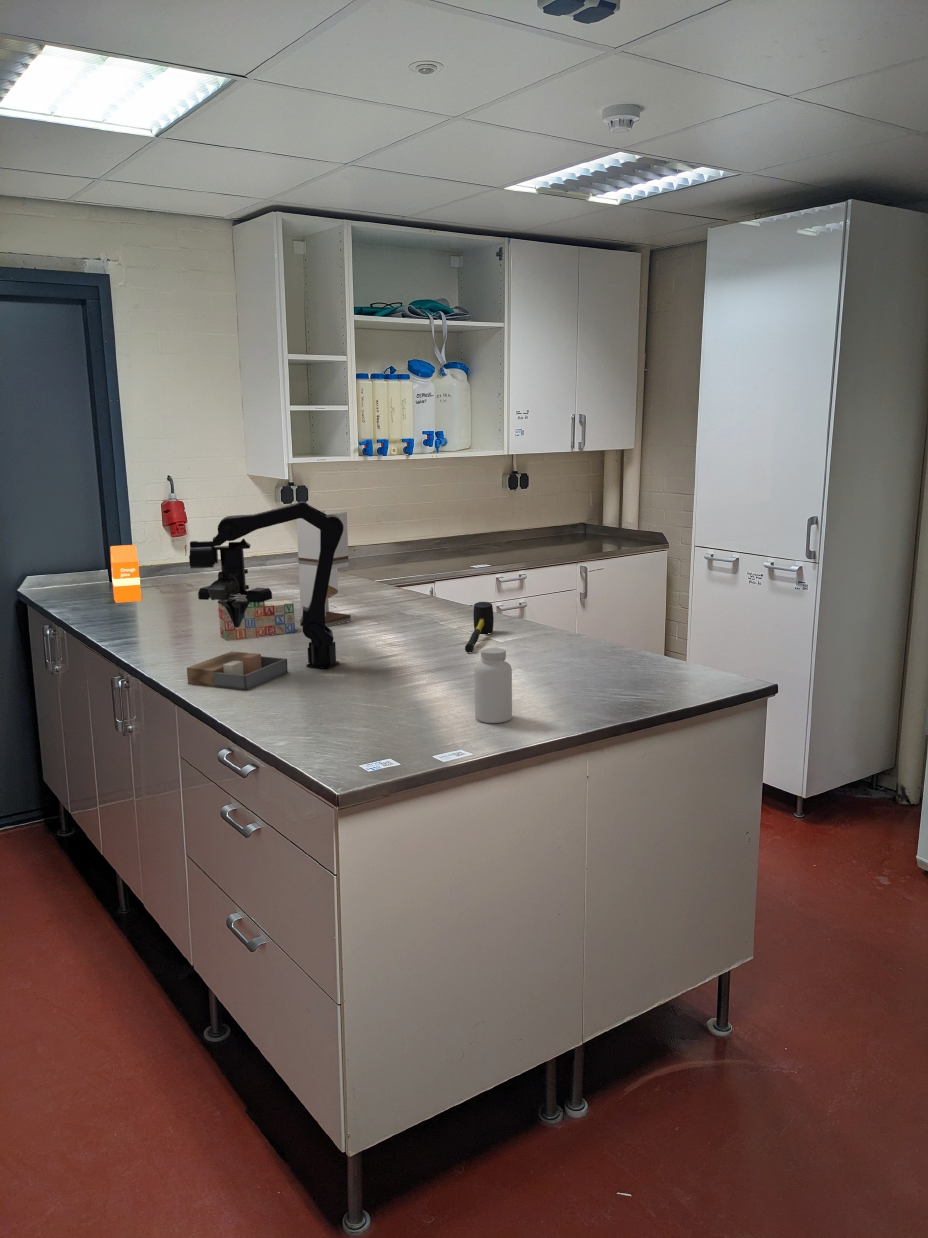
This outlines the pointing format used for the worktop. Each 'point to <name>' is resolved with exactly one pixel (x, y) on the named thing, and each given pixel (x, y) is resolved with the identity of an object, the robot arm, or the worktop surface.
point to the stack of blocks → (259, 620)
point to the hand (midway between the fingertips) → (237, 627)
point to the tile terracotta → (251, 663)
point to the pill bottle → (493, 687)
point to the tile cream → (234, 667)
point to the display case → (309, 560)
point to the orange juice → (125, 573)
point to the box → (252, 675)
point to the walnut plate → (211, 668)
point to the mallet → (481, 623)
